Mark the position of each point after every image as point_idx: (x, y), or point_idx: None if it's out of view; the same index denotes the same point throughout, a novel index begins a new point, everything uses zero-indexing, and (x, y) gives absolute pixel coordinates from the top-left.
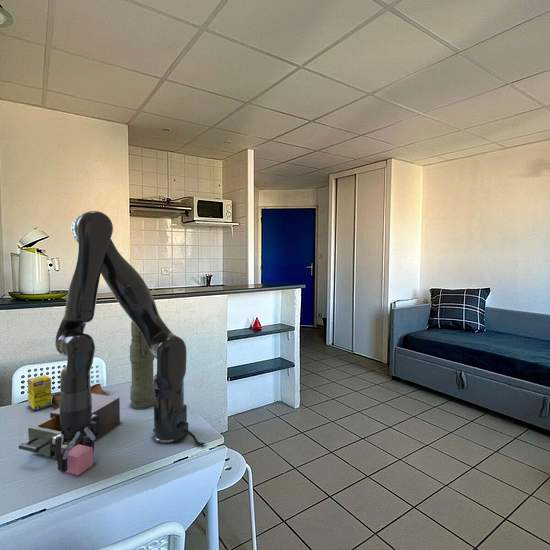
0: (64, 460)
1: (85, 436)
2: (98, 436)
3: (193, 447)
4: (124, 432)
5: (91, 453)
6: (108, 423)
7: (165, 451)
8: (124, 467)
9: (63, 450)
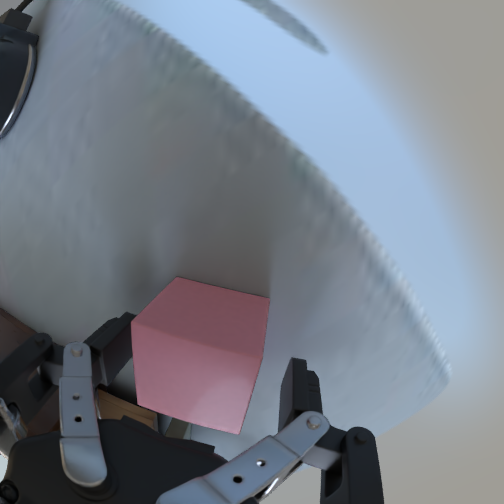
0: (307, 407)
1: (98, 406)
2: None
3: None
4: (7, 264)
5: (157, 307)
6: (5, 334)
7: (75, 28)
8: (176, 97)
9: (155, 422)
